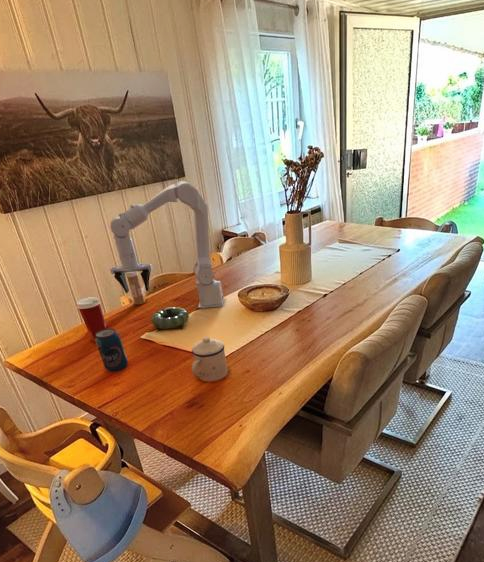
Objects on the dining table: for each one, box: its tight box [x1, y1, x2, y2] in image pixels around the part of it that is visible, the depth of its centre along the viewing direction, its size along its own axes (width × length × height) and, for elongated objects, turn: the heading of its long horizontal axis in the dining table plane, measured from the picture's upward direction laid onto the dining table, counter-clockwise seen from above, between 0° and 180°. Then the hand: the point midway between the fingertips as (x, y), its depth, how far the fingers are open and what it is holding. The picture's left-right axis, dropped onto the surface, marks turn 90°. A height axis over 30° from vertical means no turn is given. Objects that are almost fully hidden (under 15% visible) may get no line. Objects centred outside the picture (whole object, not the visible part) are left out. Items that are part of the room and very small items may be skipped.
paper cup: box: [76, 296, 108, 343], centre depth 148 cm, size 8×8×14 cm
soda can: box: [95, 327, 129, 373], centre depth 129 cm, size 7×7×12 cm
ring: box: [150, 306, 190, 329], centre depth 155 cm, size 13×13×4 cm
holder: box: [156, 306, 186, 332], centre depth 155 cm, size 9×9×6 cm
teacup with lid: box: [190, 336, 229, 383], centre depth 121 cm, size 12×9×12 cm
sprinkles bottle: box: [125, 271, 146, 306], centre depth 175 cm, size 5×5×13 cm
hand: (137, 291), depth 159 cm, fingers open, 7 cm apart
